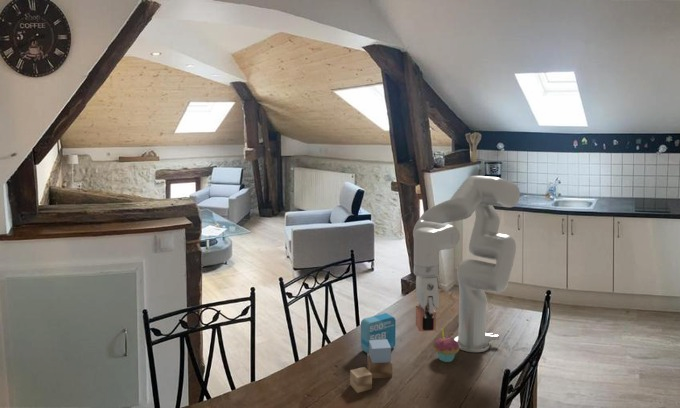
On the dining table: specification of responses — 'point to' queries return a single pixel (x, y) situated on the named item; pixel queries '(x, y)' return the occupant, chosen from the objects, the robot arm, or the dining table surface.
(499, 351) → the dining table surface
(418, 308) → the salmon orange block
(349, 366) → the dining table surface
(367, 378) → the block
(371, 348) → the tower top
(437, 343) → the cupcake
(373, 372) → the tower base
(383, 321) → the data package
